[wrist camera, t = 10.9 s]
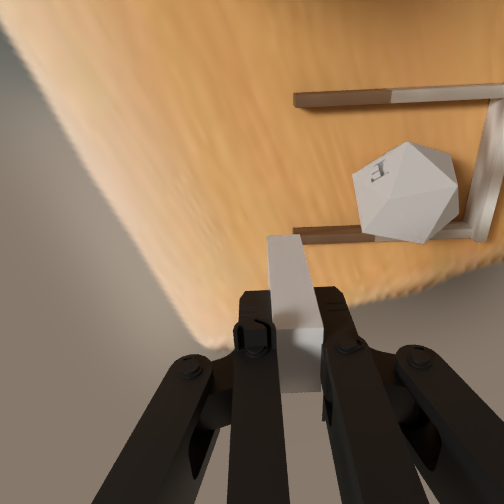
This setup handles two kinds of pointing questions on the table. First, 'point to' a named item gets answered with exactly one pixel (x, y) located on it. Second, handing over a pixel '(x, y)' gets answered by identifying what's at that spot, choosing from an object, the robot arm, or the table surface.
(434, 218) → the die
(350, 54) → the table surface
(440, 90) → the grey brown u-shaped frame
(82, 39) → the table surface
